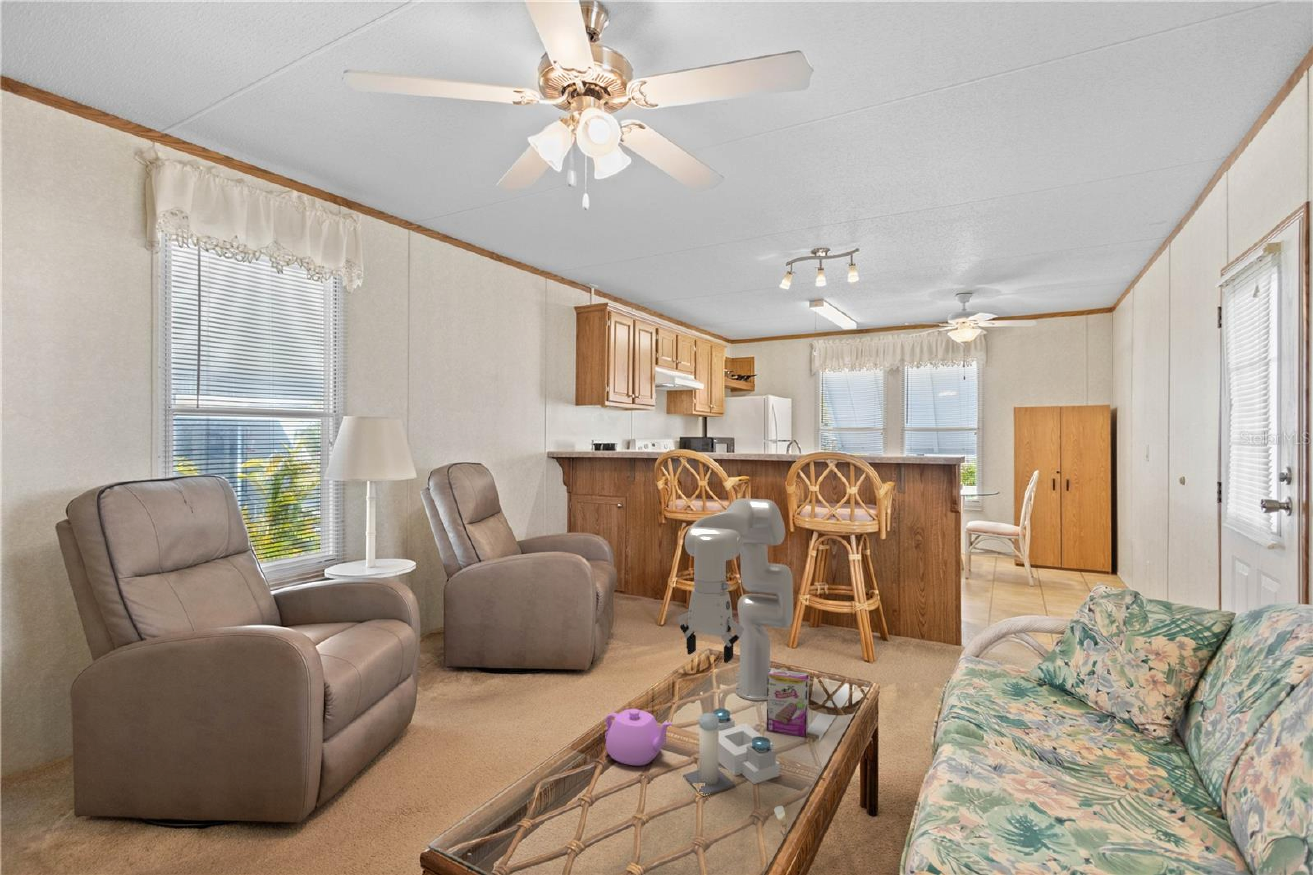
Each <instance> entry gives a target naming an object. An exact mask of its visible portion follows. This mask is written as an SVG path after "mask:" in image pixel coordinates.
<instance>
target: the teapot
mask: <svg viewBox="0 0 1313 875" xmlns="http://www.w3.org/2000/svg"><path fill="white" fill-rule="evenodd" d="M611 718H614V719H613V721H612V722H611ZM605 724H606V730H607V731H605V733H604V737H605V741H606V743H605V748H606V752H607V753H608V755H609V756H610V758H612V759H613V760H614V761H616V762H619V763H621V764H623V765H624V764H625V765H628V766H629V765H630V766H637V767H638V766H640V767H641V766H645V765H647V764H649V763H650V762H652V761H653V760H654V759H655V758H656V757H657V755H659V753H660V751H661V749H662V748H663V747H664V746H665V744H666V742H667V731H668V727H669V726H670V725H673V722H672V721H666V722H663V723H662V724H661V725H660V726H659V725H658V722H657V720H656V719H655V717H654V715H653V714H651V713H650V712H648V711H644V710H639V709H638V708H630V709H629V708H628V709H625V710H622V711H621V712H619V713H618V712H610V713H608V715H607V716H606V717H605Z"/></svg>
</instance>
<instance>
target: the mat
mask: <svg viewBox="0 0 1313 875" xmlns="http://www.w3.org/2000/svg"><path fill="white" fill-rule="evenodd" d="M683 776H684V777H685V778H686V780H687V781H688V782H690V783H691V784H693V783H697V784H698V783H702V782H700V780H699V769H696V770H695V771H694V770H693V771H690V772H687V773H685V774H683V775H682V777H683ZM686 780H685V781H686ZM687 781H686V782H687ZM688 782H687V783H688ZM734 787H736V783H735V782H734V781H732V780H731V779H730V778H729V777H728V776H727V775H726V774H725V773H723V772H722V771H721V770H720V769H719V768H718V782H717V783H715V784H712V785H707V784H705V786H701V789H699V792H703V793H702V794H703V795H704V794H705V795H706V794H709V793H710V794H711V795H714V794H716V793H720V792H722V791H726V790H729V789H731V788H734Z"/></svg>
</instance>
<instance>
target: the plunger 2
mask: <svg viewBox="0 0 1313 875" xmlns="http://www.w3.org/2000/svg"><path fill="white" fill-rule="evenodd" d="M770 741H771V740H770V739H769V738H768V737H765V736H764V737H760V736H759V737H754V738H753V739H752V746H753V747H754V748H755V751H757V752H758V753H759V754H761V753H764V752H767V749H769V748H770Z"/></svg>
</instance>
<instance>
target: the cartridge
mask: <svg viewBox="0 0 1313 875" xmlns="http://www.w3.org/2000/svg"><path fill="white" fill-rule="evenodd" d="M698 718H699V720H698V721H699V724H698V725H699V727H698V728H699V731H698V733H699V737H698V738H699V739H698V741H699V742H698V743H699V745H698V746H699V747H698V748H699V749H698V750H699V751H698V754H699V756H698V759H699V760H698V765H699V767H698V768H699V769H698V770H699V780H700V782H702V783H705V784H707V785H712V784H715V783H717V782H718V769H719V762H718V743H719V717H718V716H717V715H716V714H713V712H705V713H701V714H700V715H699V717H698Z"/></svg>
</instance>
